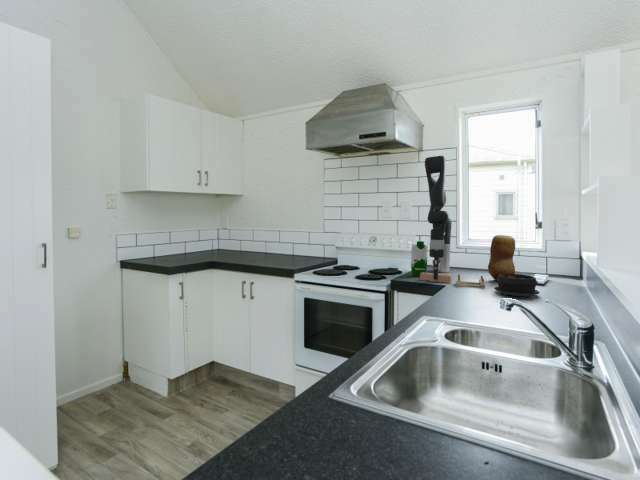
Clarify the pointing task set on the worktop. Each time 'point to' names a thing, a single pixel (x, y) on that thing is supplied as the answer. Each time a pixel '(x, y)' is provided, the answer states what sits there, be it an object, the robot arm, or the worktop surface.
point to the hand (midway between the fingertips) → (435, 278)
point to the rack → (479, 284)
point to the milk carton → (419, 258)
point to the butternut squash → (501, 256)
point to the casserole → (517, 285)
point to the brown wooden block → (441, 277)
